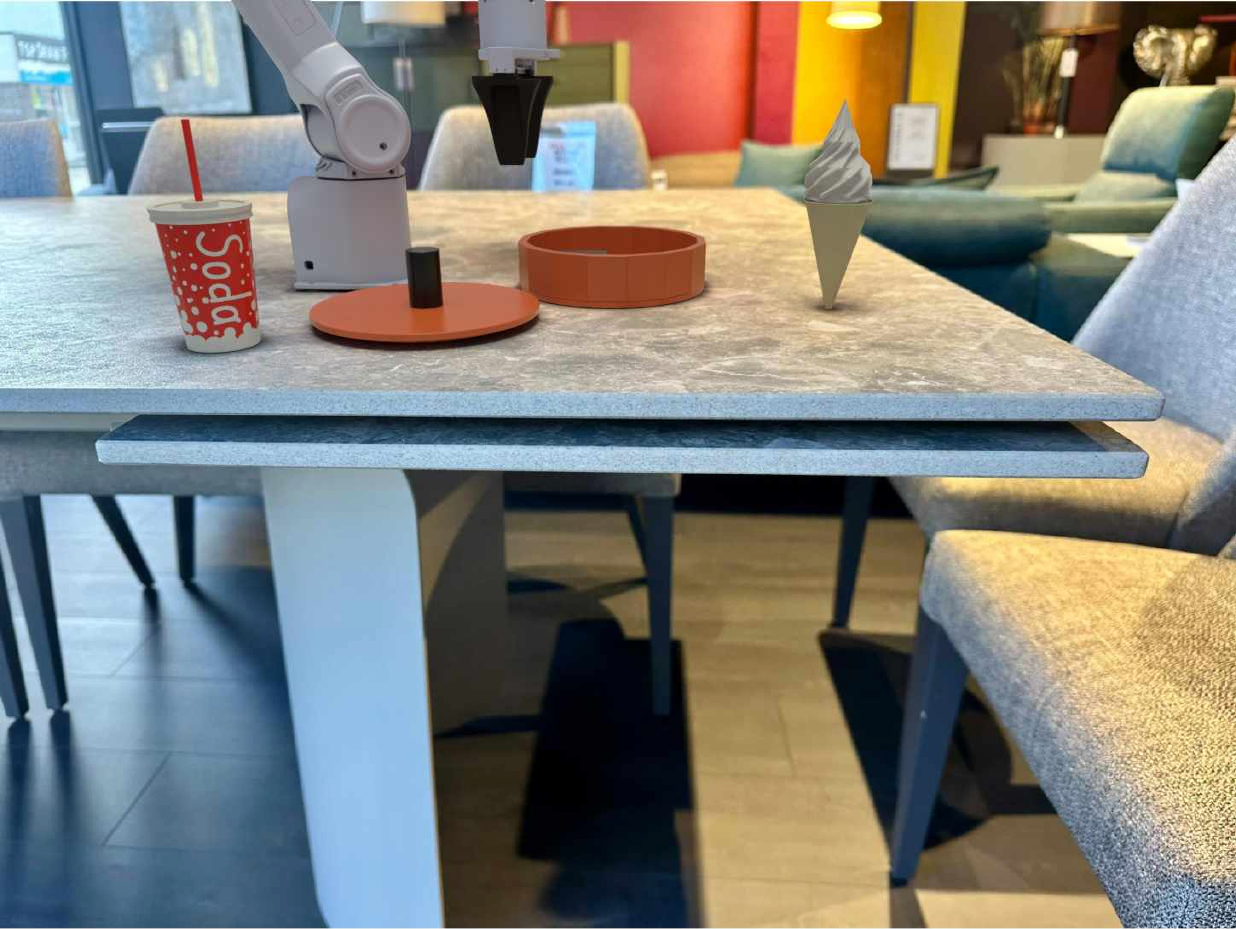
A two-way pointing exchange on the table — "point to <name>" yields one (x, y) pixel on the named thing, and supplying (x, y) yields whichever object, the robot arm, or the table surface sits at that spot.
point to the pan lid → (424, 307)
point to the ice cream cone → (837, 202)
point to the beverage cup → (209, 265)
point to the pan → (612, 266)
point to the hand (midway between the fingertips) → (518, 161)
